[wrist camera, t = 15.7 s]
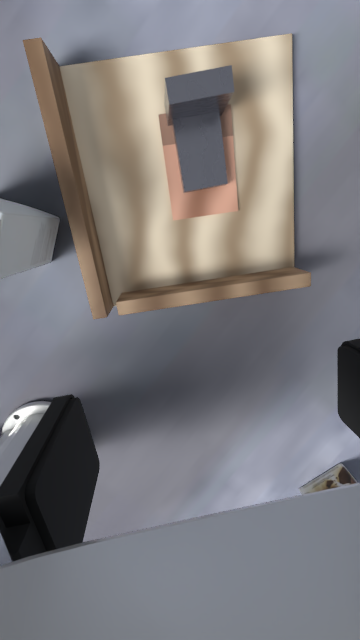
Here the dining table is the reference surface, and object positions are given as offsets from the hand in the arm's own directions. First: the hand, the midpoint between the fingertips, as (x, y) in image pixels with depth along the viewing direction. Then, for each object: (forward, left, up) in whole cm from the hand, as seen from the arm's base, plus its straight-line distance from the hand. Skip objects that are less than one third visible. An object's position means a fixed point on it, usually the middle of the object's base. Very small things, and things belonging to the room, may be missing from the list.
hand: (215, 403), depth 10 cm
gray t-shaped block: (+4, +14, -28) cm, 32 cm away
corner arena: (+3, +10, -29) cm, 31 cm away
